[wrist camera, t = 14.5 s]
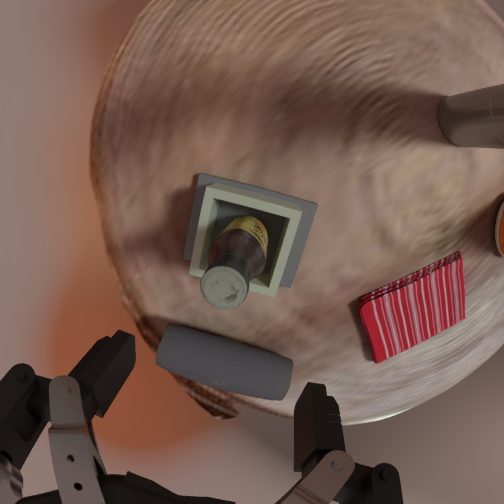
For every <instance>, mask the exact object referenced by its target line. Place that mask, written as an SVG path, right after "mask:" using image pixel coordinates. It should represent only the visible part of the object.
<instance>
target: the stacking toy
mask: <svg viewBox="0 0 504 504" xmlns="http://www.w3.org/2000/svg"><path fill="white" fill-rule="evenodd" d="M495 240H496V245H497V248H498V251H499V252H500V254H501V255H502V256H503V257H504V202H503V203H502V205H501V207H500V209H499V212H498V215H497V219H496V225H495Z"/></svg>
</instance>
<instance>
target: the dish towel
mask: <svg viewBox="0 0 504 504" xmlns="http://www.w3.org/2000/svg"><path fill="white" fill-rule="evenodd" d="M360 302H361V303H360V304H359V313H360V317H361V320H362V323H363V326H364V328H365V331H366V333H367V335H368V338H369V342H370V346H371V349H372V354H373V360H374V363H379V362H381V361H383V360H385V359H388V358H390V357H392V356H394V355H396V354H399V353H401V352H403V351H405V350H407V349H409V348H411V347H413V346H415V345H417V344H419V343H421V342H423V341H425V340H427V339H429V338H430V337H432V336H434V335H436V334H438V333H440V332H442V331H443V330H445V329H447V328H449V327H451V326H452V325H454V324H457V323H458V322H460V321H461V320H463V319H464V318H465V289H464V273H463V261H462V255H461V252H460V251H459V252H457V253H455V254H452V255H450V256H448V257H446V258H444V259H441V260H440V261H438V262H435V263H433V264H431V265H429V266H427V267H425V268H423V269H420V270H419V271H417V272H415V273H413V274H410V275H408V276H406V277H404V278H402V279H400V280H397V281H396V282H394V283H391V284H389V285H386V286H384V287H382V288H380V289H378V290H375V291H373V292H371V293H369V294H368V295H365V296H363V297H361V298H360Z"/></svg>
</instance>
